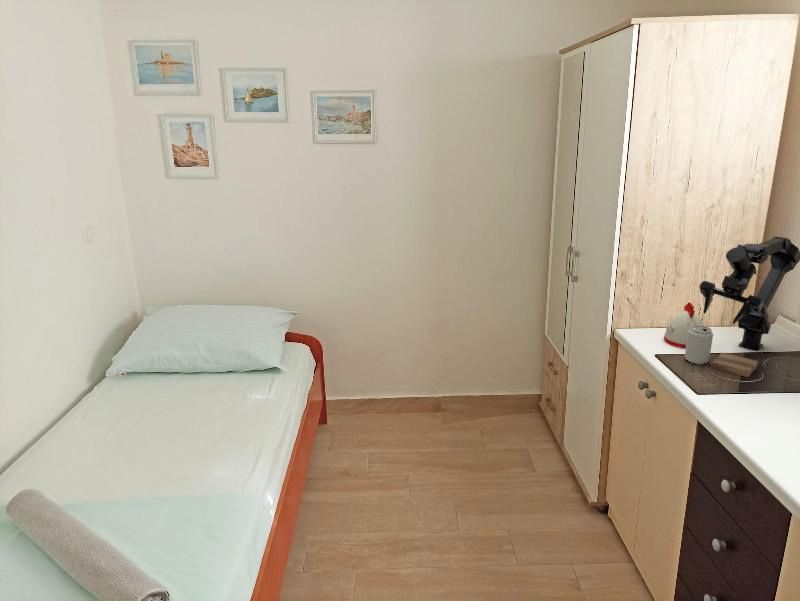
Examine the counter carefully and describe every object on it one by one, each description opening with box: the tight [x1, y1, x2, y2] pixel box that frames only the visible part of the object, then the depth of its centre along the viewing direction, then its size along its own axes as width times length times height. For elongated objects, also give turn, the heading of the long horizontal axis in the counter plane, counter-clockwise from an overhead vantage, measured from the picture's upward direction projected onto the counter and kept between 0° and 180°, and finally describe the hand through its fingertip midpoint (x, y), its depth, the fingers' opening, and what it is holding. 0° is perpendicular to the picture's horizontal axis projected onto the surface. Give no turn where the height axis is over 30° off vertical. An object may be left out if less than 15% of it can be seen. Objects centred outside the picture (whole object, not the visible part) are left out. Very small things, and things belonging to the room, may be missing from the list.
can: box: [684, 325, 714, 365], centre depth 202 cm, size 8×8×12 cm
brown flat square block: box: [711, 352, 759, 378], centre depth 199 cm, size 11×11×2 cm
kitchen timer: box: [663, 302, 705, 350], centre depth 218 cm, size 14×14×15 cm
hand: (718, 318), depth 196 cm, fingers open, 9 cm apart
